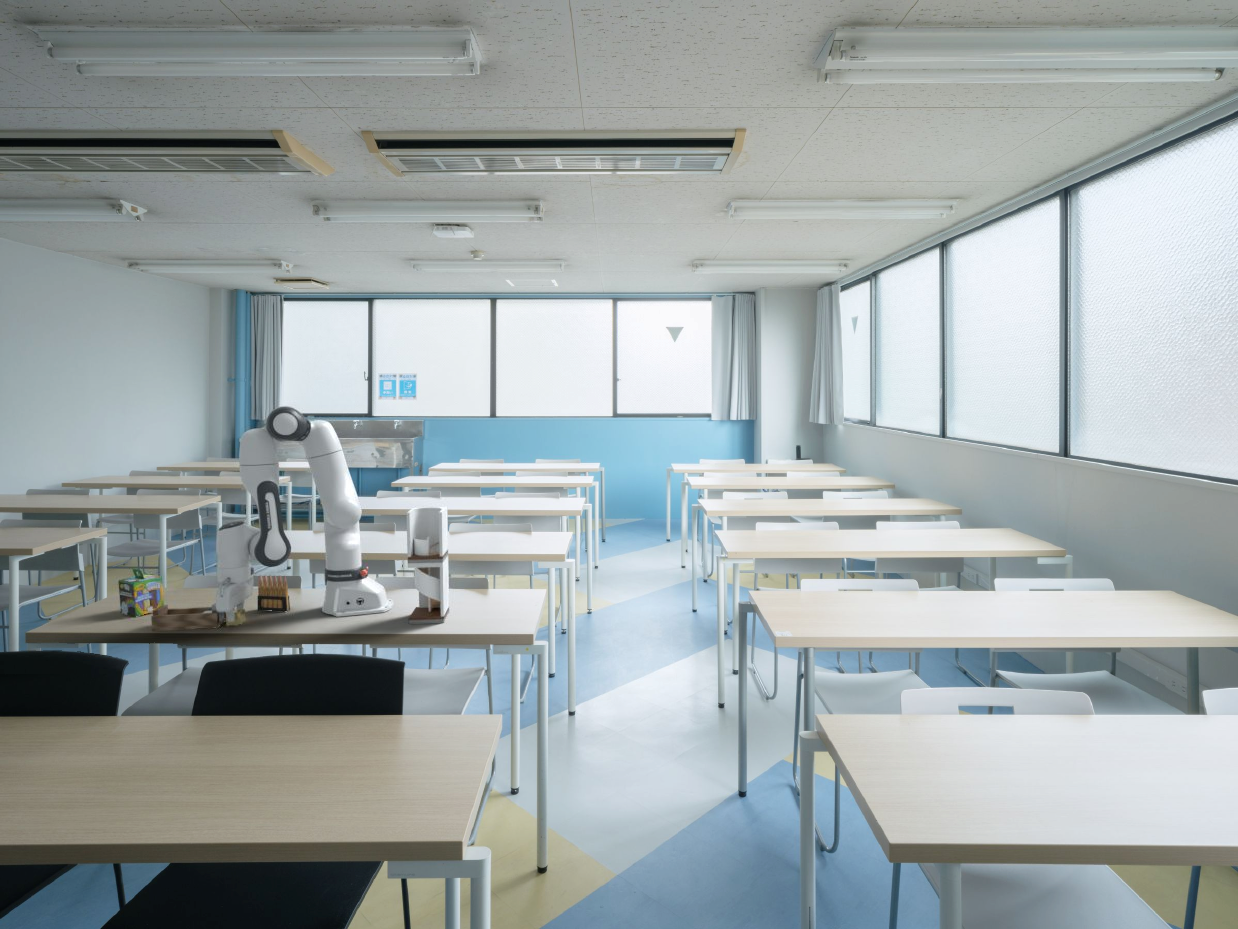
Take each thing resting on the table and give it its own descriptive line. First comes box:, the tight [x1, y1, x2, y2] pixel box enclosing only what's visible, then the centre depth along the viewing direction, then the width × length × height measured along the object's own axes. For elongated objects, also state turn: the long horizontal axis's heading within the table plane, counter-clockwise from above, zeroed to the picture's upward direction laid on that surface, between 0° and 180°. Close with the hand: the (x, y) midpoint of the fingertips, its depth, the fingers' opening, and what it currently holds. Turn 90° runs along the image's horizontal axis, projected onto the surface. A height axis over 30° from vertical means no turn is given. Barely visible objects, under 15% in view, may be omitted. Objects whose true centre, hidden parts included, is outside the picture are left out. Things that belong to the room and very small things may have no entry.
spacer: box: [225, 608, 246, 626], centre depth 212 cm, size 4×4×4 cm
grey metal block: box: [203, 602, 225, 623], centre depth 211 cm, size 5×4×6 cm
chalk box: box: [118, 567, 165, 618], centre depth 224 cm, size 9×9×15 cm
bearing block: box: [150, 604, 226, 632], centre depth 210 cm, size 18×8×6 cm, turn 100°
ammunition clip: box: [257, 574, 291, 612], centre depth 226 cm, size 11×2×12 cm, turn 81°
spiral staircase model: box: [406, 506, 450, 625], centre depth 217 cm, size 11×11×35 cm
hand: (235, 618), depth 212 cm, fingers open, 5 cm apart
